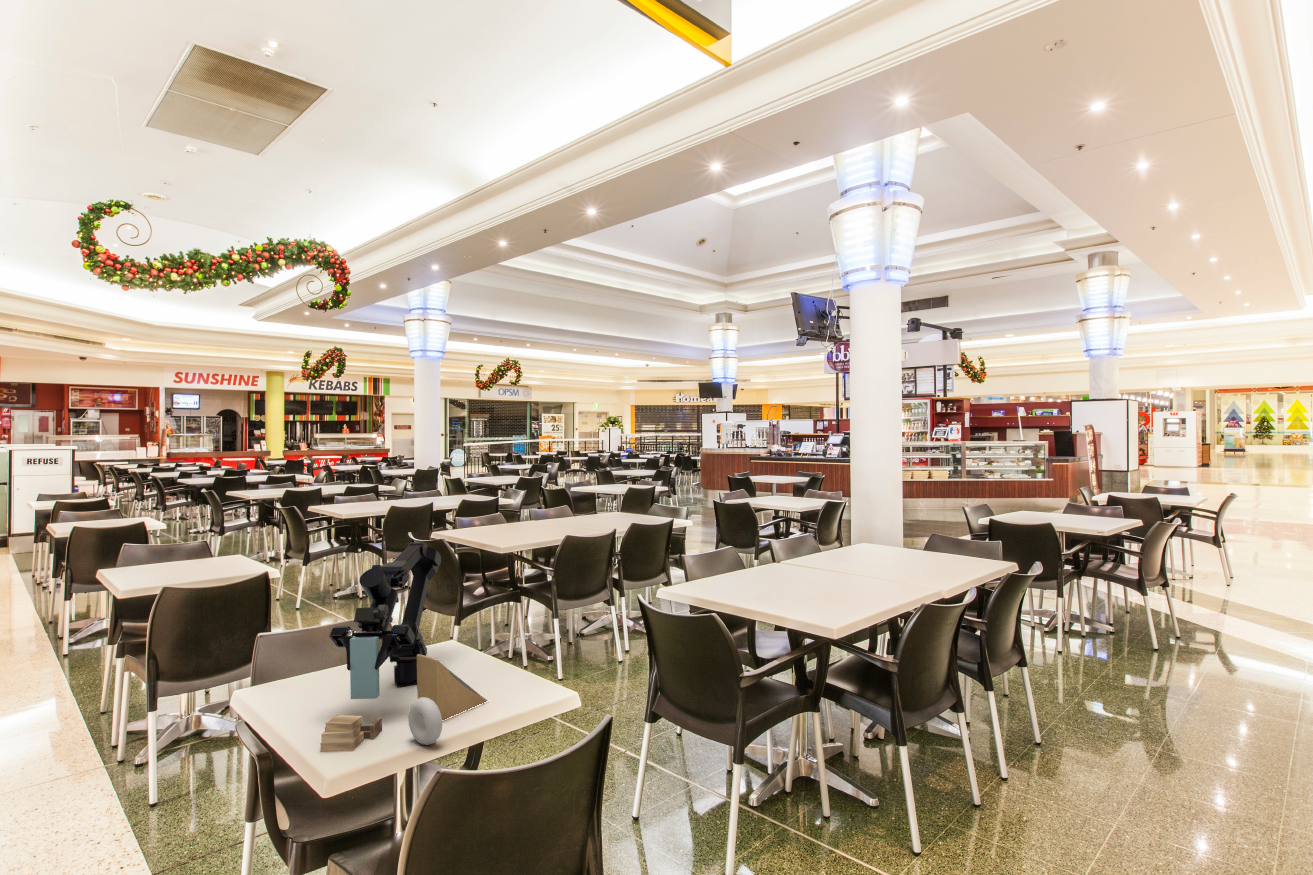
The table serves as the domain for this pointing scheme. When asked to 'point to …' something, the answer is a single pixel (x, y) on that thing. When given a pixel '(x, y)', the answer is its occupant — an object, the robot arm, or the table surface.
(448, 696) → the sandwich container
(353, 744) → the offcut stack
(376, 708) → the table surface
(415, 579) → the robot arm
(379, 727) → the rack
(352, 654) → the teal rectangular block
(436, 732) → the donut
